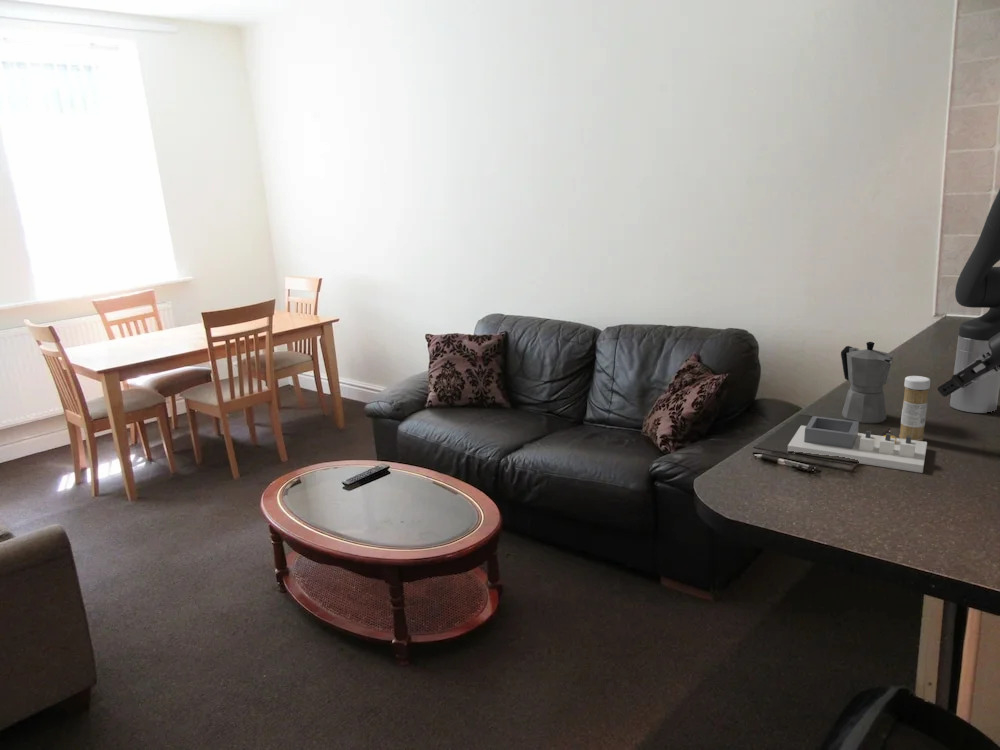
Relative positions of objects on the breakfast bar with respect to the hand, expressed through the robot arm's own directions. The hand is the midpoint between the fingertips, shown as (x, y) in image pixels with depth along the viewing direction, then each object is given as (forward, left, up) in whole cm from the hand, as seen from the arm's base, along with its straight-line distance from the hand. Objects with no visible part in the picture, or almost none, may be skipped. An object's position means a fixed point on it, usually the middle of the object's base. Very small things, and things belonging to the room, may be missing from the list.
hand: (950, 388), depth 140 cm
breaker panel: (+10, -15, -12) cm, 22 cm away
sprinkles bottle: (-2, -6, -13) cm, 14 cm away
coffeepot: (-14, -17, -13) cm, 25 cm away
